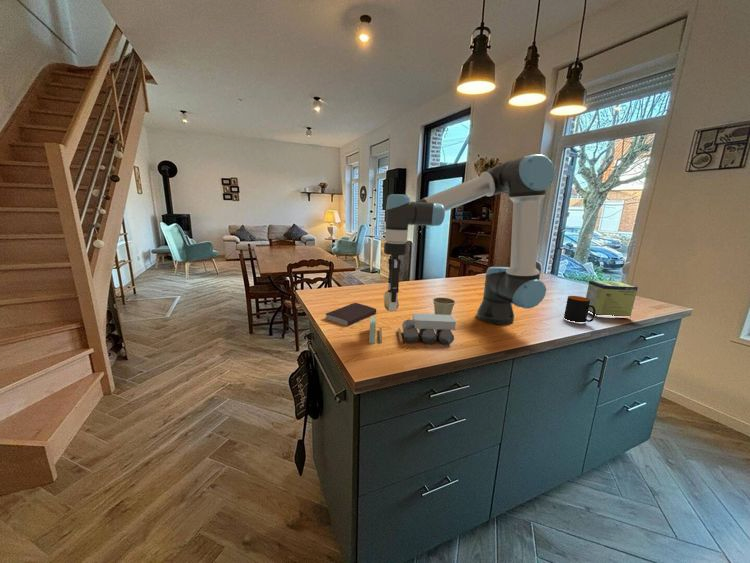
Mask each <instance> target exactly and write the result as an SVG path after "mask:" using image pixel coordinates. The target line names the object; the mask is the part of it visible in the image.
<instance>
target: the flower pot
mask: <svg viewBox="0 0 750 563" xmlns="http://www.w3.org/2000/svg"><path fill="white" fill-rule="evenodd" d="M432 302H433V306H434V309H433V310H434V314H438V315H451V316H452V312H453V308H454V306H455V304H456V300H455V299H452V298H449V297H441V296H440V297H434V298H432Z"/></svg>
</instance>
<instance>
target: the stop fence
mask: <svg viewBox="0 0 750 563" xmlns="http://www.w3.org/2000/svg"><path fill="white" fill-rule="evenodd" d="M376 321H377V319H376V317H375V316H370V317H369V338H368V343H369V344H376V329H377V328H376V327H377V323H376Z"/></svg>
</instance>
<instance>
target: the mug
mask: <svg viewBox="0 0 750 563" xmlns="http://www.w3.org/2000/svg"><path fill="white" fill-rule="evenodd" d="M566 300H567V301H566V304H565V311H564V313H563V314H564V316H563V319H564V318H565V319H567V320H570V321H575V322H586V323H587V322H588V323H590V322H591V323H592V322H593V321H594V320H595V318H596V317H595V312H596V310H595V308H594V306H592V305H589V304H590V299H588V298H586V297H585V296H584V297H583V296H579V295H568V296H567V298H566ZM589 307H592V308H593V315H591V318H590V319H588V318H587V317H588V314H589V313H588V309H589Z"/></svg>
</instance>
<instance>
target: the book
mask: <svg viewBox="0 0 750 563" xmlns="http://www.w3.org/2000/svg"><path fill="white" fill-rule="evenodd" d="M376 314H377V309H376V308H375V307H373V306H372V307H371V306H368V305H365V304H363V303H358V302H353V303H350V304H347V305H345V306H343V307H340V308H337V309H334V310H332V311H329V312H327V313H325V320H327V319H328V321H330V320H331V321H330V322H334V323H337V324H340V325H343V326H347V327H349V326H351V325H354V324H356V323H359V322H361V321H363V320H365V319H367V318H370V317H373V316H374V315H376Z"/></svg>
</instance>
